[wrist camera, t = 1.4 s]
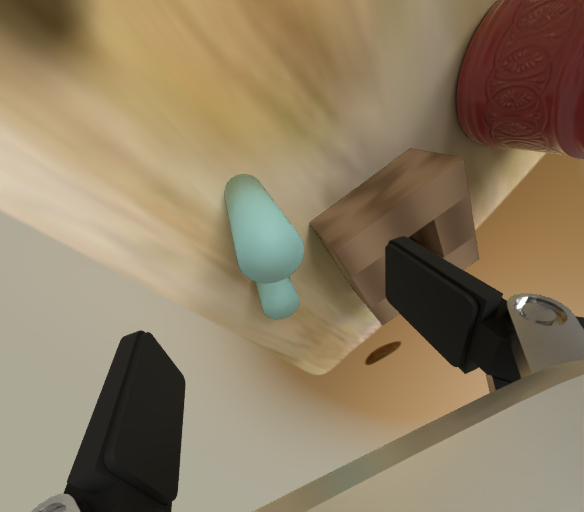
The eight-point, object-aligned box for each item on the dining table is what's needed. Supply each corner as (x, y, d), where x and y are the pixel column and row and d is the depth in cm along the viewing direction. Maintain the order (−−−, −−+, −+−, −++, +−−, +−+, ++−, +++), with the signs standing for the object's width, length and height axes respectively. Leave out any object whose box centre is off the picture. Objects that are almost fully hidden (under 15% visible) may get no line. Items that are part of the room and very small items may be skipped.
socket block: (410, 148, 24) (463, 158, 19) (435, 235, 30) (479, 259, 26) (309, 222, 25) (334, 251, 20) (354, 291, 31) (382, 325, 26)
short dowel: (281, 256, 26) (295, 284, 22) (288, 281, 28) (302, 311, 23) (250, 267, 25) (258, 297, 21) (259, 291, 27) (268, 324, 23)
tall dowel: (258, 169, 21) (297, 214, 12) (268, 206, 23) (308, 271, 14) (218, 180, 20) (227, 236, 11) (232, 217, 22) (249, 291, 13)
